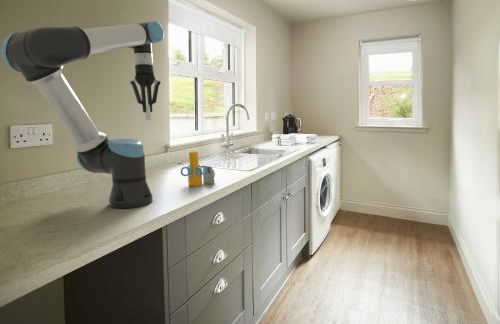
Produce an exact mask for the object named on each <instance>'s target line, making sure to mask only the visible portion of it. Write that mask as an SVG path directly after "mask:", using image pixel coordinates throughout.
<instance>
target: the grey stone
mask: <svg viewBox="0 0 500 324" xmlns="http://www.w3.org/2000/svg"><path fill="white" fill-rule="evenodd" d="M204 165H205V166H207V167H208V173H207V174H205V175H202V181H203V183H205V184H208V185H210V186H211V185H214V184H215V176H216V173H215V171H214V169H213V167H212V166H211V165H207V164H204ZM206 171H207V169H206V168H205V167H202V172H203V173H205V172H206Z"/></svg>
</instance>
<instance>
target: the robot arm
mask: <svg viewBox="0 0 500 324" xmlns="http://www.w3.org/2000/svg"><path fill="white" fill-rule="evenodd" d="M164 38H165V31H164V28H163V25H162V24H161V23H160V22H158V21H156V20H153V21H147V22H141V23H140V22H139V23H130V24H120V25H116V24H115V25H111V26H103V27H102V26H100V27H90V28H84V29H83V28H82V27H80V26H75V25H74V26H39V27H35V28H31V29H26V30H19V31H16V32H13V33H11V34H9V35H8V36H6V37H5V38H4V40H3V42H2V43H1V48H0V51H1V52H0V53H1V55H2V59H3V60H4V62H5V64H6V65H7V66H8V67H9V68H10V69H11V70H12V71H16V72H17V73H21V75H22V76H23V78H25V80H26V82H28V83H29V84H33V85H35V86H36V87H37V88H38V90H39V91H40V92H41V94H42V96H43V97H44V99H45V100H46V101H47V103H48V105H50V107H51V109H52V111H53V112H54V113H55V115H56V116H57V117H58V119H59V120H60V122H61V123H62V124H63V126H64V127H65V129H66V130H67V131H68V133H69V134H70V136H71V137H72V139H73V140H74V142H75V143H76V145H75V147H74V149H75V151H76V155H77V156H76V161H77V164H78V165H79V166H80V167H81V168H82V169H83V170H84V171H86V172H89V173H94V174H108V175H109V174H111V178H112V179H111V181H112V186H111V189H110V194H109V198H108V203H109V204H108V205H109V207H110V208H113V209H130V208H131V209H132V208H138V207H143V206H147V205H150V204H151V203H152V202H153V200H154V199H153V194H152V191H151V189H150V186H149V185H148V181H147V175H146V174H147V173H146V160H145V157H146V155H145V150H144V144H143V143H142V141H140V140H137V139H133V138H113V139H109V138H108V136H107V134H106V133H105V132H102V131H99V130H98V127H97V126H96V125H95V123H94V122H93V120H92V119H91V117H90V115H89V113H87V110H86V109H85V107H84V106H83V104H82V103H81V101H80V100H79V99H78V96H77V95H76V93H75V92H74V90H73V89H72V87H71V85H70V84H69V82H68V81H67V79H66V78H65V76H64V74H63V73H62V71H63V68H64V66H65V65H68V64H71V63H74V62H77V61H80V60H85V59H88V58H90V56H91V55H93V54H100V53H105V52H110V51H115V50H121V49H126V48H127V49H128V48H129V49H132V50H133V57H134V58H133V59H134V64H135V66H134V70H135V76H134V79H133V80H131V81H129V84H130V86H131V87H132V89H133V92H134V95H135V98H136V101H137V104H139V105H141V106H142V112H143V113H145V114H144V115H145V121H151V120H152V119H151V118H152V117H151V113H153V104H154V105H155V104H156V103H157V98H158V93H159V86H160V85H161V80H157V79H156V77H155V75H154V74H155V70H154V65H153V64H154V60H153V59H154V58H153V47H152V46H153V44H156V43H160V42H162V41H163V40H164ZM137 84H138V85H139V87H140V92H139V89H138V86H137ZM153 84H154V87H153V93H152V86H153ZM146 93H147V94H146ZM146 96H147V97H146Z"/></svg>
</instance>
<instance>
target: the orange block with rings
mask: <svg viewBox="0 0 500 324" xmlns="http://www.w3.org/2000/svg"><path fill="white" fill-rule="evenodd" d="M188 158H189V159H188V160H189V164H188V165H187V166H183V167H181V169H180V175H182V176H183V177H187V181H188V186H189V187H200V186H202V185H203V175H205V174H207V173H208V167H207V166H205V165H206V164H202V165H200V164H199V163H200V162H199V151H197V150H194V151H192V150H191V151H188ZM203 167H205V168H206V169H207V171H206V172H205V173H203ZM185 169H186V170H187V173H186V174H185V173H183V170H185Z"/></svg>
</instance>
